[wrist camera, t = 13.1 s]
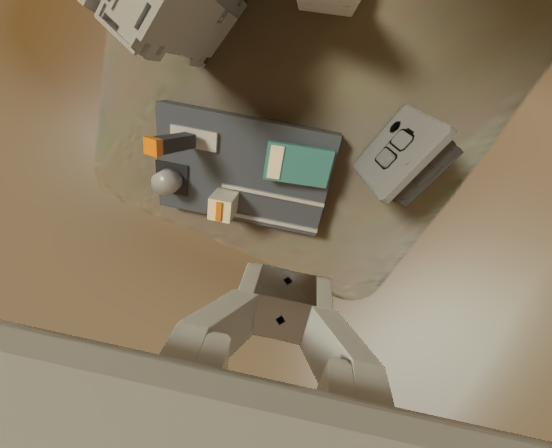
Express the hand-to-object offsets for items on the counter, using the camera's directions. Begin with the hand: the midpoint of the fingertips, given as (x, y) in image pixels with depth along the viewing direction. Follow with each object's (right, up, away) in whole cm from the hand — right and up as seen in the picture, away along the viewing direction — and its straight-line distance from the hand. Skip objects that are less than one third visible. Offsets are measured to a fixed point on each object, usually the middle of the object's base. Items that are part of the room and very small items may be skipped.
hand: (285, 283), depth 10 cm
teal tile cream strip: (+2, +9, +23) cm, 25 cm away
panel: (-5, +10, +28) cm, 30 cm away
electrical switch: (+15, +12, +25) cm, 31 cm away
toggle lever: (-11, +12, +24) cm, 29 cm away
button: (-15, +8, +27) cm, 32 cm away
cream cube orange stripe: (-7, +6, +28) cm, 30 cm away
